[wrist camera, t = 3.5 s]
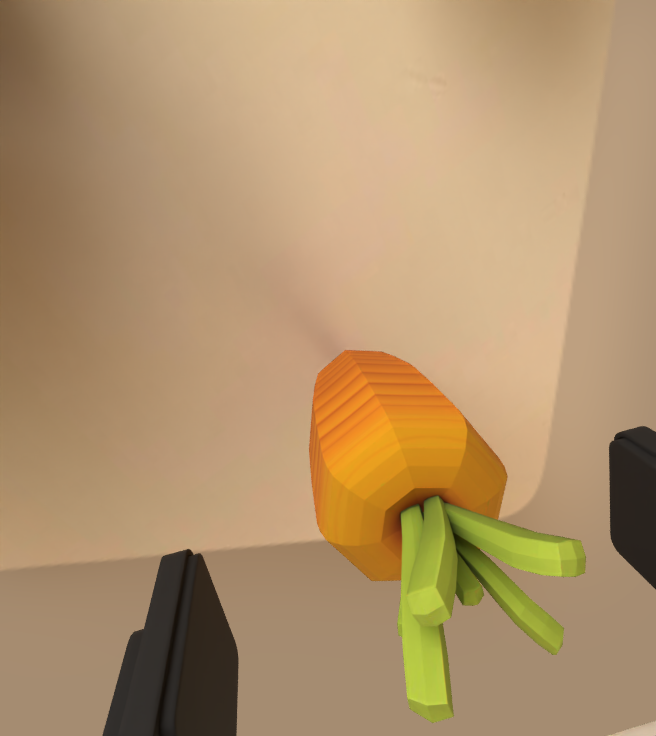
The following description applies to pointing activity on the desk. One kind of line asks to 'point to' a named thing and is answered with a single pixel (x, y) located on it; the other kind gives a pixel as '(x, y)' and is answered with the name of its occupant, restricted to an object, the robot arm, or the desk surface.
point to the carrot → (422, 511)
